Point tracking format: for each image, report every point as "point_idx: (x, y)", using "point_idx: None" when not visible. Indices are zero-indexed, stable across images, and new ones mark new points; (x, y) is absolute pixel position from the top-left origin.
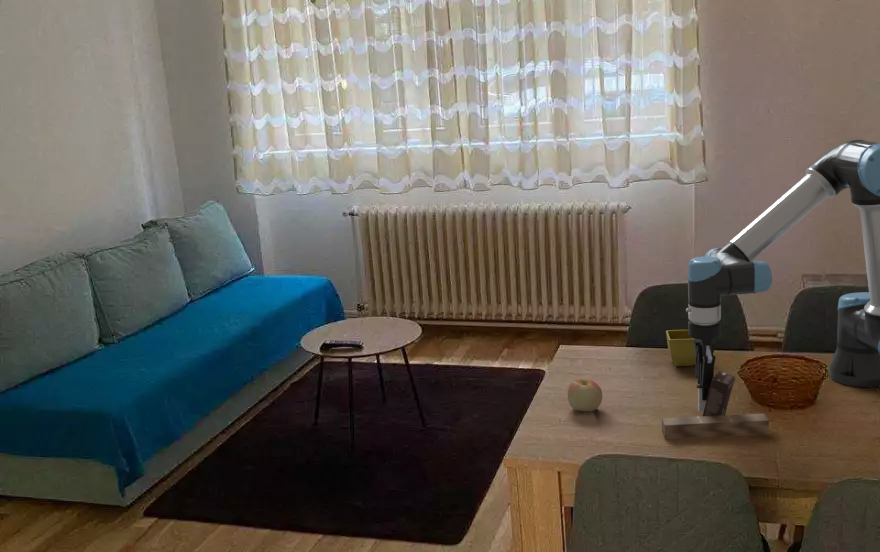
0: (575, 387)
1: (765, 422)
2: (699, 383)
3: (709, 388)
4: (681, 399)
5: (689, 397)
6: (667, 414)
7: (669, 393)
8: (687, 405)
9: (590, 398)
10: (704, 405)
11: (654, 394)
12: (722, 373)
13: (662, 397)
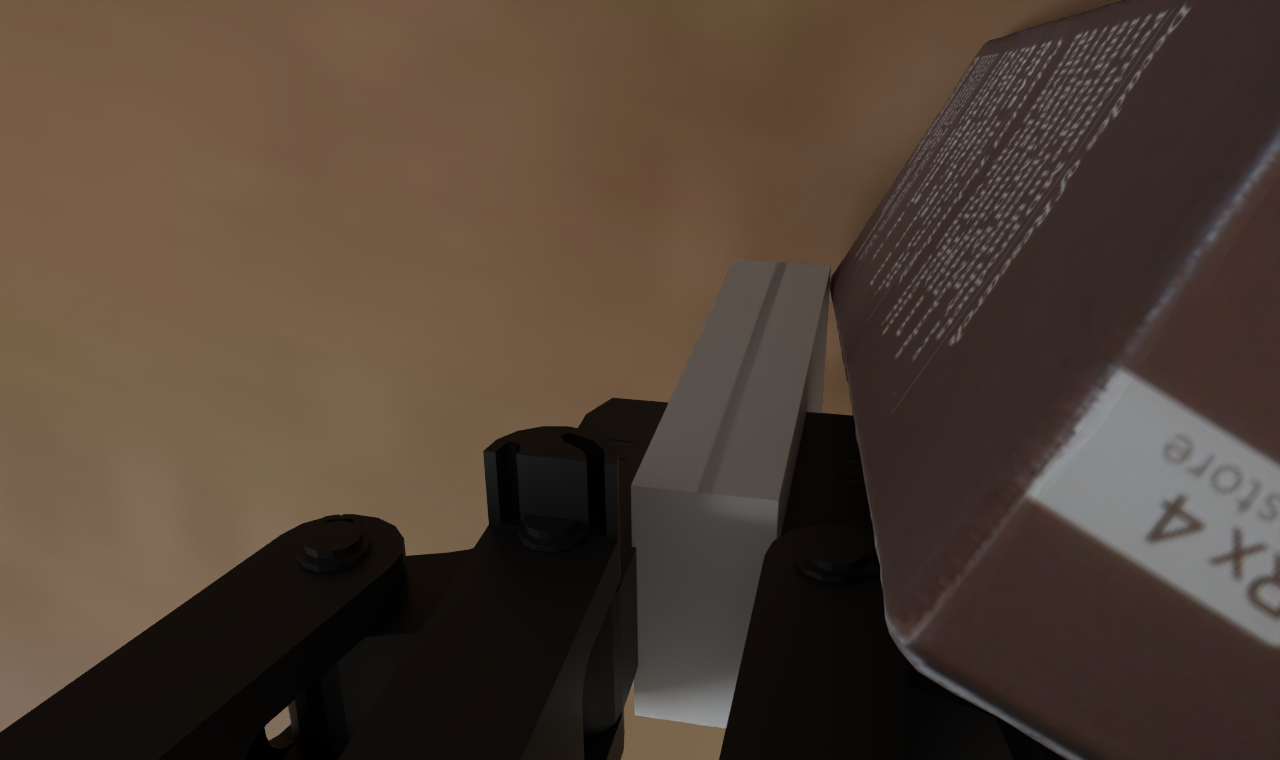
0: None
1: None
2: (621, 717)
3: (782, 498)
4: (197, 435)
5: (124, 319)
6: (666, 721)
7: (27, 513)
8: (392, 420)
9: None
10: (814, 405)
11: (77, 669)
12: (1184, 584)
13: (154, 619)
